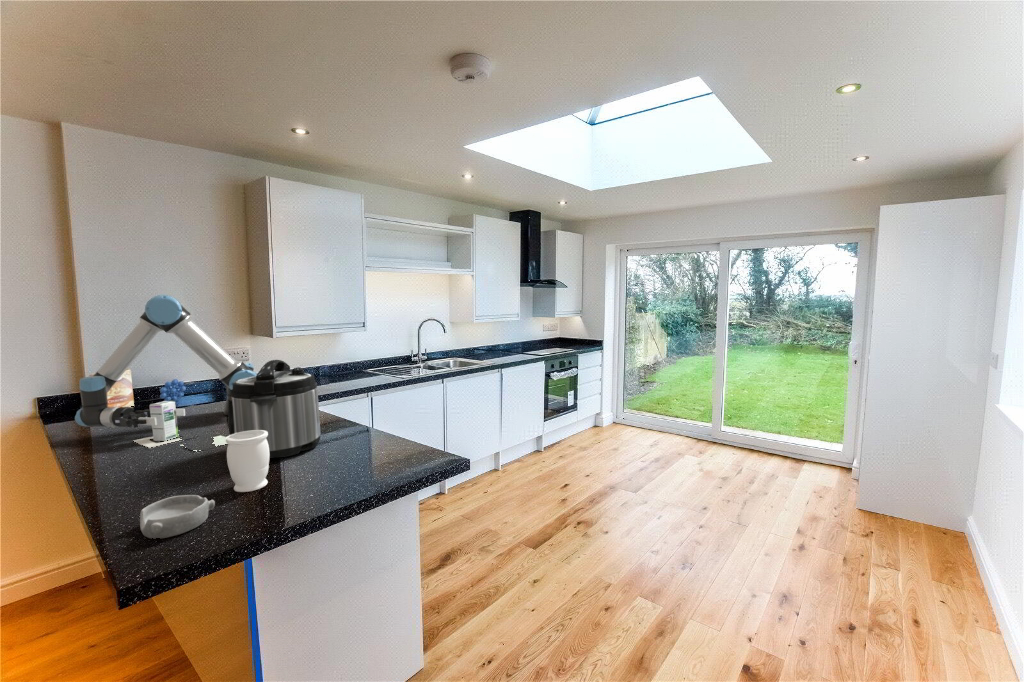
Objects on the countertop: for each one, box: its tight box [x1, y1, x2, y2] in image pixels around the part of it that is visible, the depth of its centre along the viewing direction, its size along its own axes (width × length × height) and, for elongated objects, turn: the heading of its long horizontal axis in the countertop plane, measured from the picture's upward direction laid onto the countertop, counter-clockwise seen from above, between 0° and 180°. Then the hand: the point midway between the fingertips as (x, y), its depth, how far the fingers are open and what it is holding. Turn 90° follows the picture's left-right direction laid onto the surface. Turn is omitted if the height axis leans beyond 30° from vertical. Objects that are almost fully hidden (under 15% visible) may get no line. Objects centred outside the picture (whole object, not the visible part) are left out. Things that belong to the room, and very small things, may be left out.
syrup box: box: [149, 400, 180, 442], centre depth 179 cm, size 6×6×14 cm
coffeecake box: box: [88, 368, 135, 408], centre depth 233 cm, size 15×7×20 cm, turn 161°
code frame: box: [132, 435, 182, 449], centre depth 180 cm, size 16×16×1 cm
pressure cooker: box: [227, 359, 321, 459], centre depth 163 cm, size 30×28×32 cm
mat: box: [179, 434, 228, 453], centre depth 172 cm, size 14×14×1 cm
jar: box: [225, 430, 270, 493], centre depth 131 cm, size 11×10×15 cm
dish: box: [139, 494, 216, 540], centre depth 110 cm, size 14×14×5 cm
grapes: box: [159, 378, 187, 403], centre depth 250 cm, size 12×7×12 cm, turn 133°
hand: (170, 416), depth 179 cm, fingers open, 13 cm apart
